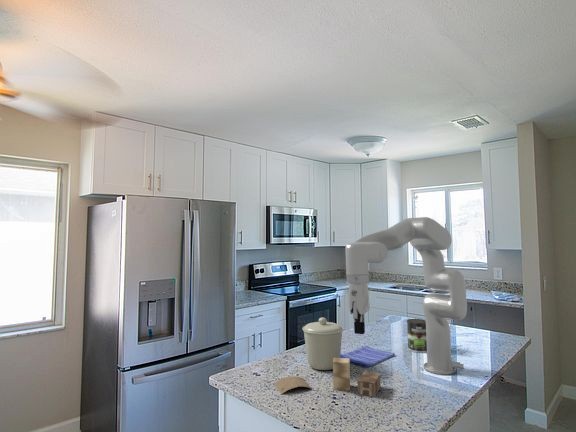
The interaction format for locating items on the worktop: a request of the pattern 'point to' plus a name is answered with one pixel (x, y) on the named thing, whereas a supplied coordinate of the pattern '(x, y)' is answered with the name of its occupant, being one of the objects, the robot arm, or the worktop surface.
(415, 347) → the coffee can
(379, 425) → the worktop surface
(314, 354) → the canister
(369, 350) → the dish towel
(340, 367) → the oak block
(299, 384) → the clay tablet
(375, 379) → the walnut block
